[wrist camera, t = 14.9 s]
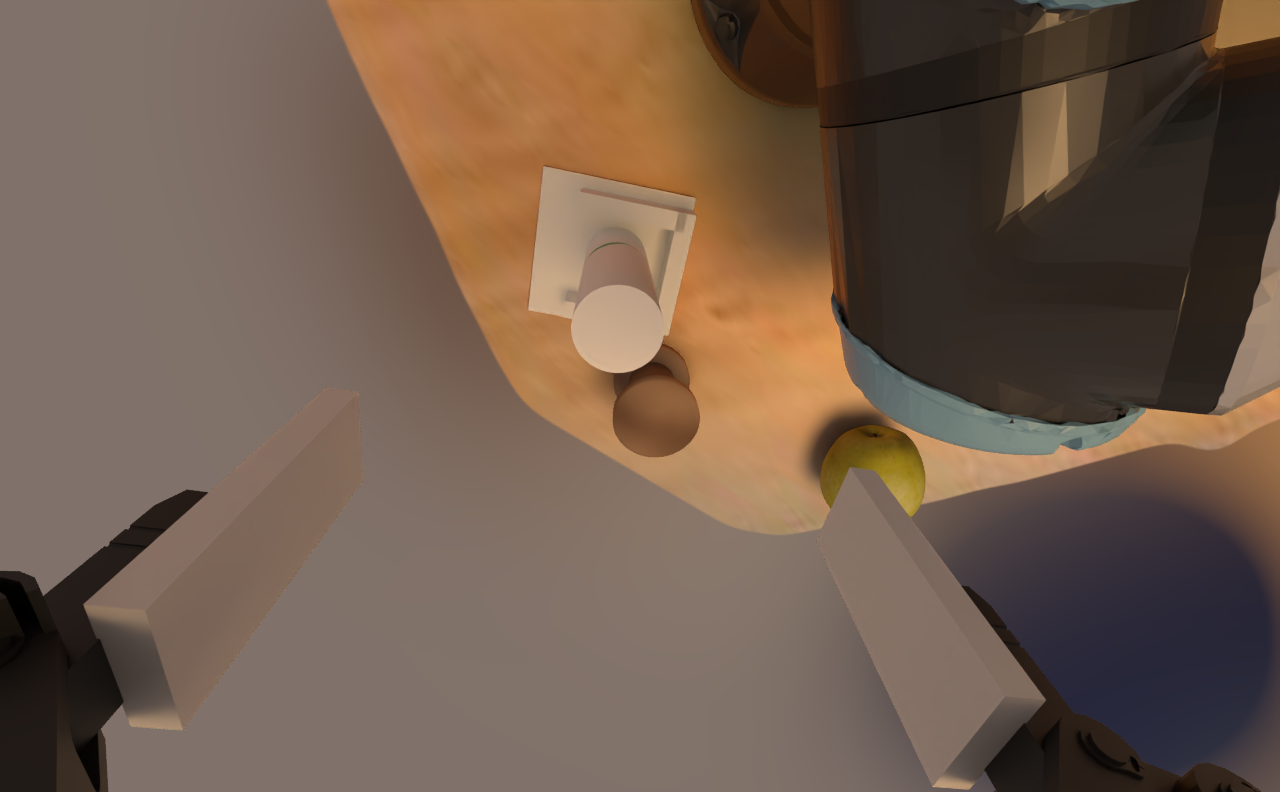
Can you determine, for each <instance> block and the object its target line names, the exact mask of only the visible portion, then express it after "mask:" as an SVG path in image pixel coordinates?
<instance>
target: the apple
mask: <svg viewBox="0 0 1280 792" xmlns="http://www.w3.org/2000/svg"><path fill="white" fill-rule="evenodd" d="M850 467H854V468H860V469H867V470H874V471H876V472H877V474H878V475H879V476H880V478H881V479H882V480H883V482H884V483H885V484H886V486H887V487H888V488H889V490H890V491H891V492H892V494H893V495H894V496H895V498H896V499H897V500H898V502H899V503H900V505H901V506H902V507H903V509H904V510H905V511H906V513H907V514H908V515H909V517H910V518H911V517H912V516H913V514H914V513H915V512H916V511H917V509H918V508H919V506H920V505H921V503H922V500H923V497H924V492H925V470H924V466H923V462H922V459H921V456H920V454H919V451H918V449H917V447H916V446H915V444H914V443H913V441H912V440H911V439H910V438H909V437H908V436H907V435H906V434H905V433H903V432H901V431H898V430H895V429H892V428H889V427H885V426H880V425H866V426H861V427H857V428H854V429H852V430H849V431H847V432H845V433H844V434H842V435H841V436H840V437H839V438H838V439H837V440H836V441H835V443H834V444H833V445H832V447H831V448H830V450H829V451H828V453H827V455H826V457H825V459H824V462H823V465H822V469H821V475H820V484H821V491H822V494H823V497H824V499H825V500H826V502H827V504H828V505H829V507H830V508H832V505H833V503H834V501H835V499H836V497H837V494H838V492H839V490H840V488H841V486H842V483H843V481H844V479H845V477H846V475H847V472H848V470H849V468H850Z"/></svg>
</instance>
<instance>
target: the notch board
mask: <svg viewBox="0 0 1280 792" xmlns="http://www.w3.org/2000/svg"><path fill="white" fill-rule="evenodd" d="M695 201H696V198H695V197H691V196H686V195H681V194H676V193H672V192H667V191H662V190H657V189H652V188H648V187H643V186H638V185H633V184H629V183H624V182H619V181H614V180H610V179H605V178H600V177H595V176H590V175H586V174H581V173H576V172H571V171H567V170H562V169H557V168H552V167H548V166H543V176H542V185H541V194H540V204H539V213H538V223H537V232H536V241H535V251H534V260H533V270H532V279H531V289H530V298H529V307H528V310H530V311H536V312H541V313H547V314H552V315H558V316H563V318H569V319H572V318H573V313H574V308H575V303H576V299H577V294H578V289H579V285H580V280H581V275H582V270H583V266H584V261H585V256H586V251H587V248H588V245H589V243H590V241H591V240H592V239H593V237H594V236H595V235H596V234H598V233H599V232H600V231H602V230H604V229H608V228H612V227H619V228H624V229H627V230H629V231H631V232H633V233H634V234H635V235H636V236H637V237H638V238H639V239H640V240H641V242H642V244H643V246H644V248H645V252H646V256H647V260H648V264H649V267H650V271H651V275H652V278H653V282H654V286H655V290H656V294H657V297H658V301H659V305H660V309H661V313H662V317H663V321H664V335H665V336H668V335H669V331H670V327H671V322H672V318H673V314H674V310H675V306H676V301H677V297H678V293H679V289H680V284H681V280H682V276H683V272H684V267H685V263H686V259H687V255H688V250H689V246H690V242H691V238H692V233H693V229H694V225H695V221H696V217H697V215H696V214H695V213H694V212H693V210H694V206H695Z"/></svg>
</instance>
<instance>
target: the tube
mask: <svg viewBox="0 0 1280 792" xmlns="http://www.w3.org/2000/svg"><path fill="white" fill-rule="evenodd" d="M571 333H572V339H573V342H574V345H575V347H576V349H577V351H578V353H579V354H580V355H581V356H582V357H583V359H584V360H585V361H587V362H588V363H589V364H590V365H592V366H594V367H596V368H597V369H600V370H603V371H606V372H612V373H625V372H629V371H634V370H636V369H638V368H640V367H642V366H644V365H645V364H647V363H648V362H649V361H650V360H651V359H652V358H653V357H654V356H655V355H656V353H657V352H658V350H659V349H660V346H661V344H662V342H663V337H664V321H663V317H662V313H661V309H660V305H659V301H658V297H657V294H656V290H655V286H654V282H653V278H652V275H651V271H650V267H649V264H648V260H647V256H646V252H645V248H644V246H643V244H642V242H641V240H640V239H639V238H638V237H637V236H636V235H635V234H634V233H633V232H631V231H629V230H627V229H624V228H619V227H612V228H608V229H604V230H602V231H600V232H599V233H598V234H596V235H595V236H594V237H593V239H592V240H591V241H590V243H589V245H588V248H587V251H586V256H585V261H584V266H583V270H582V275H581V280H580V285H579V289H578V294H577V299H576V303H575V308H574V313H573V318H572V324H571Z"/></svg>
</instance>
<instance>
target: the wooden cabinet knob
mask: <svg viewBox="0 0 1280 792" xmlns="http://www.w3.org/2000/svg"><path fill="white" fill-rule="evenodd" d="M689 382H690V379H689V373H688V369H687V366H686V363H685V361H684V360H683V358H682V357H681V355H680V354H679V353H678V352H677V351H675V350H674V349H672V348H670V347H669V346H666V345H663V344H661V346H660V349H659V350H658V352H657V353H656V355H655V356H654V357H653V358H652V359H651V360H650V361H649V362H648V363H647V364H645V365H644V366H642V367H640V368H638V369H636V370H634V371H629V372H625V373H614V389H615V393H616V395H617V399H616V401H615V404H614V408H613V427H614V431H615V434H616V436H617V437H618V439H619V440H620V442H621V443H622V444H623V445H624V446H625V447H626V448H628V449H629V450H631V451H632V452H634V453H636V454H639V455H642V456H647V457H663V456H668V455H671V454H674V453H676V452H678V451H680V450H681V449H683V448H684V447H685V446H687V445H688V444H689V443H690V442H691V441H692V439H693V438H694V436H695V434H696V433H697V430H698V427H699V422H700V414H699V409H698V406H697V402H696V399H695V397H694V395H693V393H692V392H691V391H690V389H689Z"/></svg>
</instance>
